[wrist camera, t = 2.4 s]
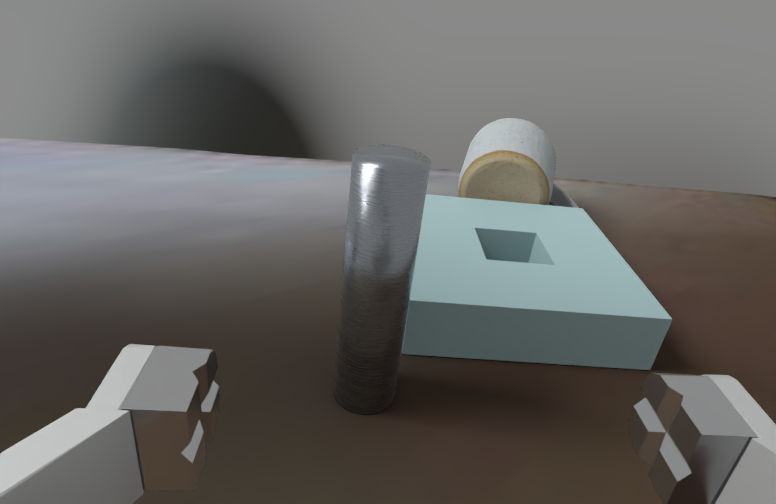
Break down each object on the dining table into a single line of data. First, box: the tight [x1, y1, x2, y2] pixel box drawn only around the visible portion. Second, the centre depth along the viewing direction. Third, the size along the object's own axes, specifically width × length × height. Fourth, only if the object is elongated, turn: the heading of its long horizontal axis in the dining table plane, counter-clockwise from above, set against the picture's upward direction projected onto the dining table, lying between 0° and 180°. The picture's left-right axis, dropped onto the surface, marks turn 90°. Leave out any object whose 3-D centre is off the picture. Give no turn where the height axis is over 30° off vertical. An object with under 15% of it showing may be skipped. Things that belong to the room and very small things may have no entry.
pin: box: [334, 145, 431, 414], centre depth 24 cm, size 3×3×12 cm
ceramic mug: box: [459, 118, 579, 208], centre depth 45 cm, size 11×8×8 cm
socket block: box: [402, 194, 672, 370], centre depth 35 cm, size 14×14×4 cm
